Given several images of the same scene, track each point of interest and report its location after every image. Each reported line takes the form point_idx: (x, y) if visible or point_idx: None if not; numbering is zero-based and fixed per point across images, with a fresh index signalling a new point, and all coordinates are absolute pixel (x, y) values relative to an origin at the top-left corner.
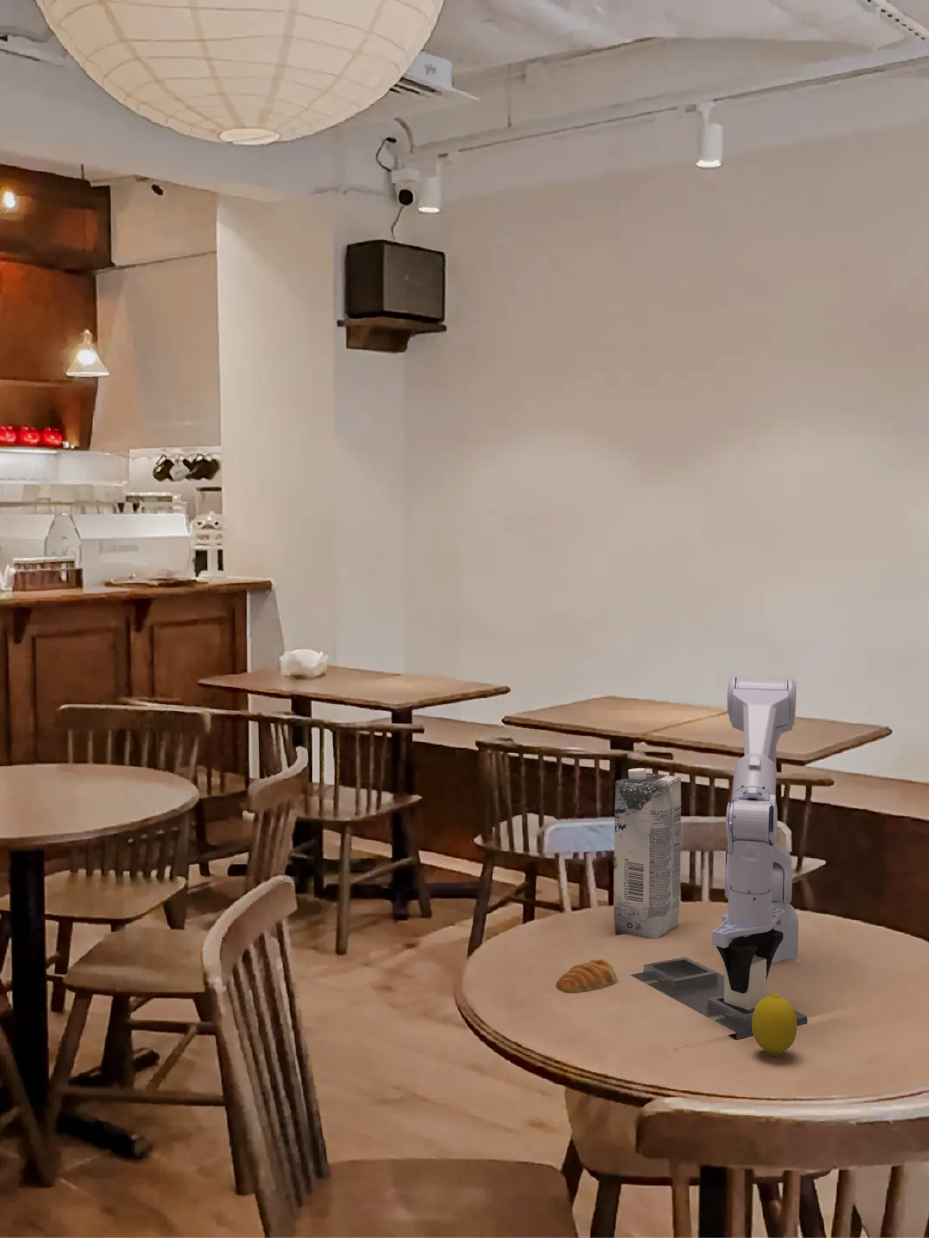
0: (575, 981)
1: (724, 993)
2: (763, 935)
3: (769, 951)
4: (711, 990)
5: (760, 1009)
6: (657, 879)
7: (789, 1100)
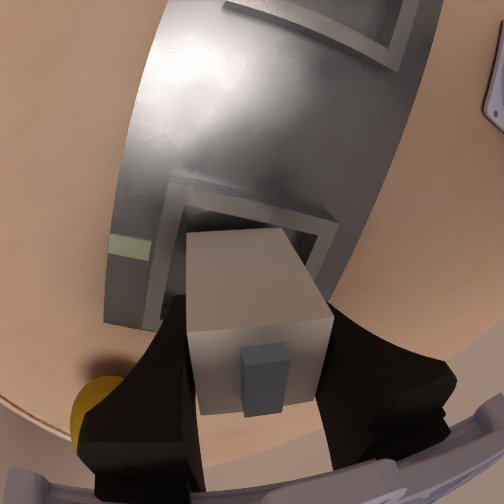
0: None
1: (186, 247)
2: (350, 461)
3: (324, 427)
4: (304, 96)
5: (74, 448)
6: None
7: (51, 428)
